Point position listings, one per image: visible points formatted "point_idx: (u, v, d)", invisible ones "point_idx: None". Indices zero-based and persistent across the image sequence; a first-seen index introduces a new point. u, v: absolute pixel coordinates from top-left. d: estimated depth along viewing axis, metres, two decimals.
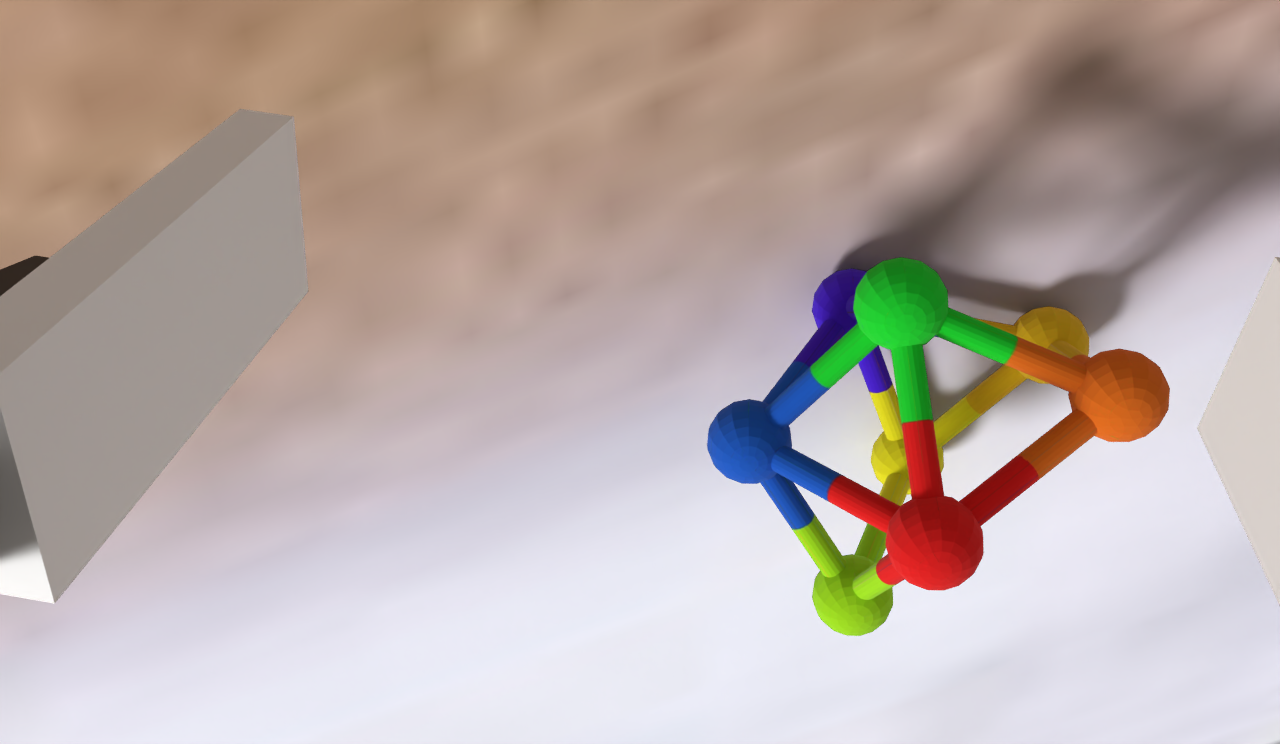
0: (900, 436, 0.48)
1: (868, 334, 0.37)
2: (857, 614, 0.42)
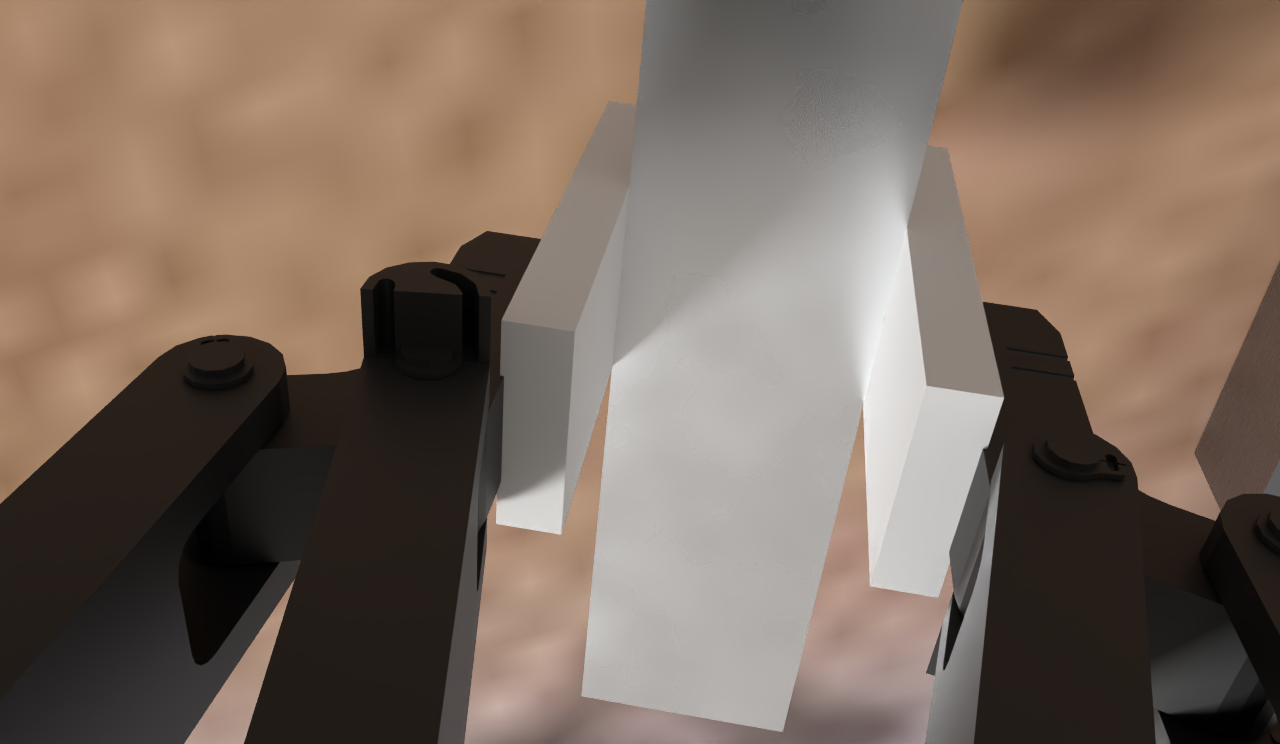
0: None
1: None
2: None
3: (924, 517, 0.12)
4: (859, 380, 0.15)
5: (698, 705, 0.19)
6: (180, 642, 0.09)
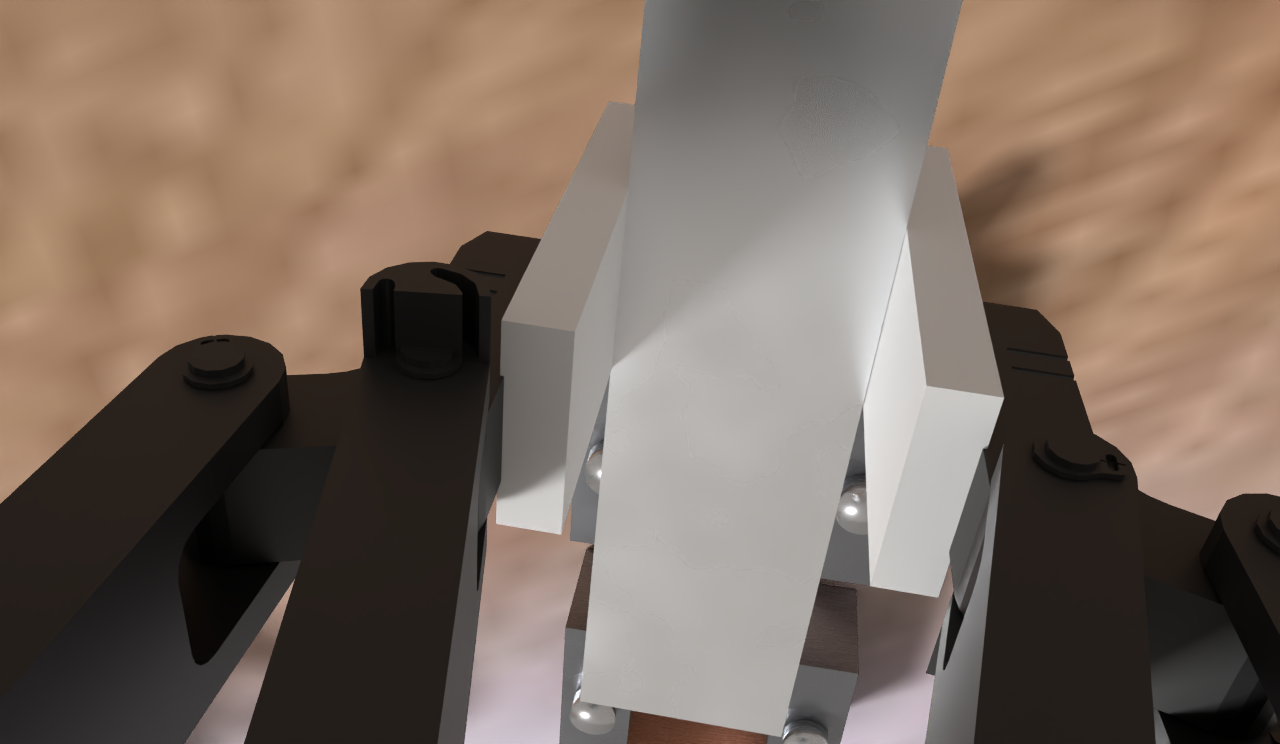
0: None
1: None
2: None
3: (924, 517, 0.12)
4: (857, 386, 0.15)
5: (696, 710, 0.19)
6: (180, 642, 0.09)
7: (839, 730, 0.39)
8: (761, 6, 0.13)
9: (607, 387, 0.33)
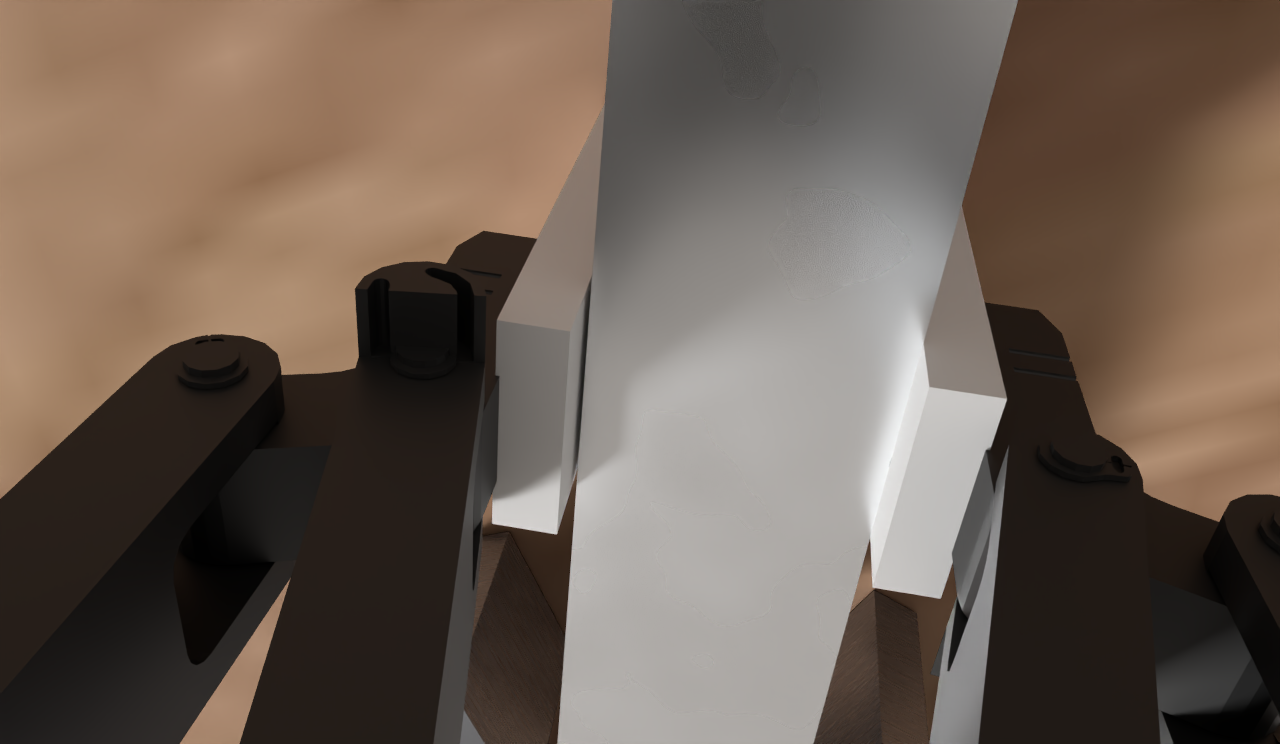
0: None
1: None
2: None
3: (926, 518, 0.12)
4: (861, 527, 0.13)
5: None
6: (176, 642, 0.09)
7: None
8: (745, 107, 0.10)
9: None
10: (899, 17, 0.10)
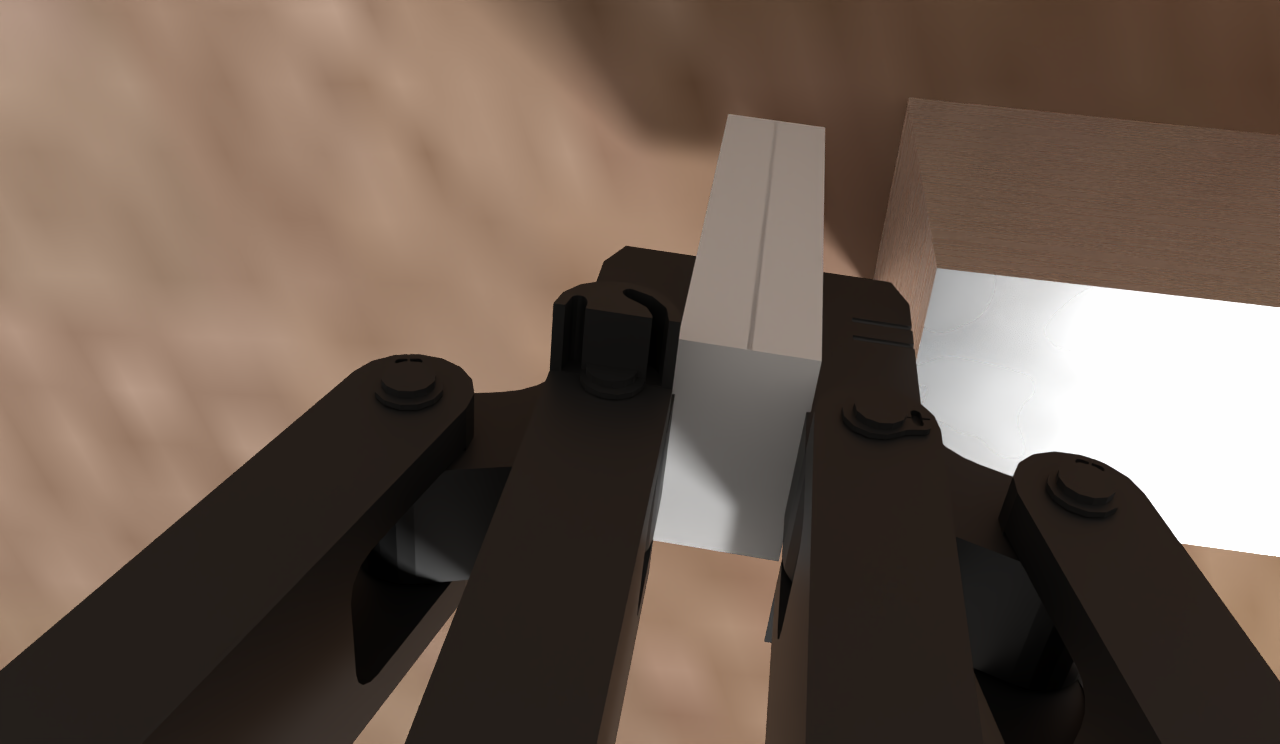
0: None
1: None
2: None
3: (757, 481, 0.12)
4: None
5: None
6: (346, 661, 0.09)
7: None
8: (1225, 463, 0.14)
9: None
10: (1173, 369, 0.13)
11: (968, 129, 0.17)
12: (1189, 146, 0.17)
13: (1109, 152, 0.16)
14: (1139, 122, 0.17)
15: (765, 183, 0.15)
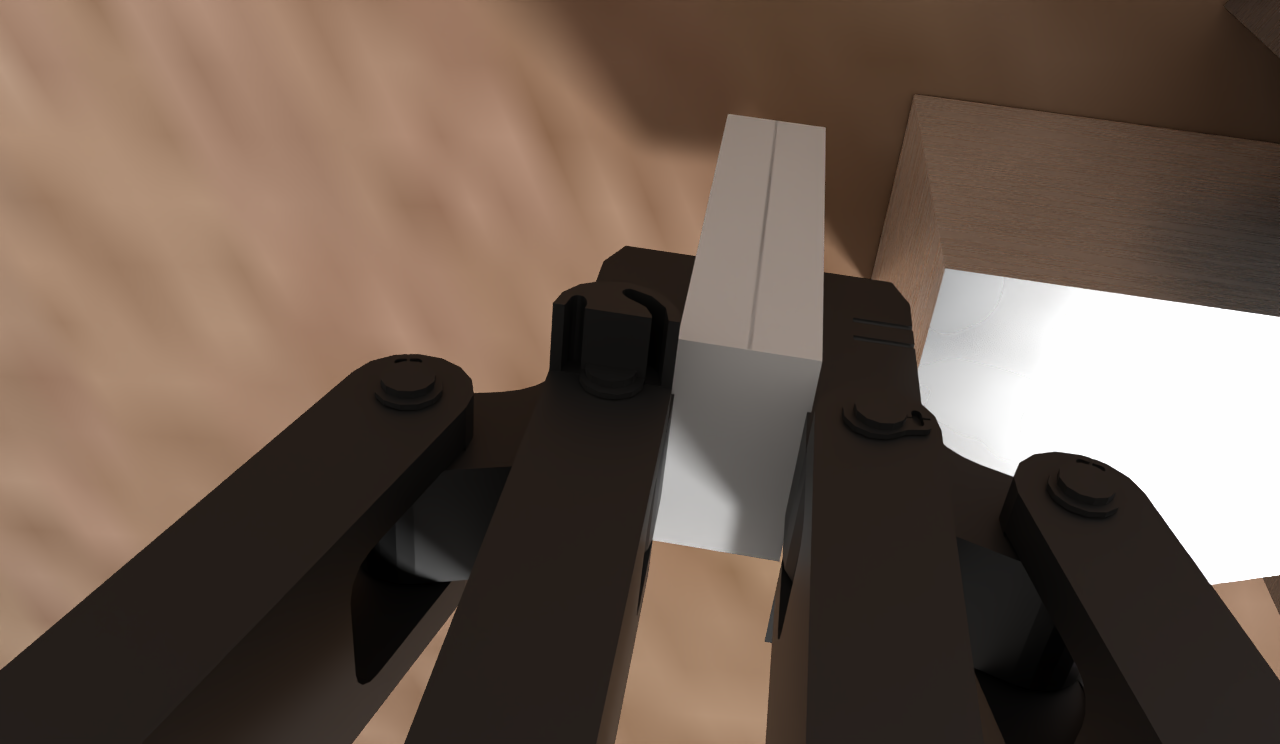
0: None
1: None
2: None
3: (758, 481, 0.12)
4: None
5: None
6: (346, 661, 0.09)
7: None
8: (1226, 472, 0.14)
9: None
10: (1177, 377, 0.13)
11: (975, 129, 0.17)
12: (1195, 153, 0.17)
13: (1115, 157, 0.16)
14: (1145, 127, 0.17)
15: (766, 183, 0.15)
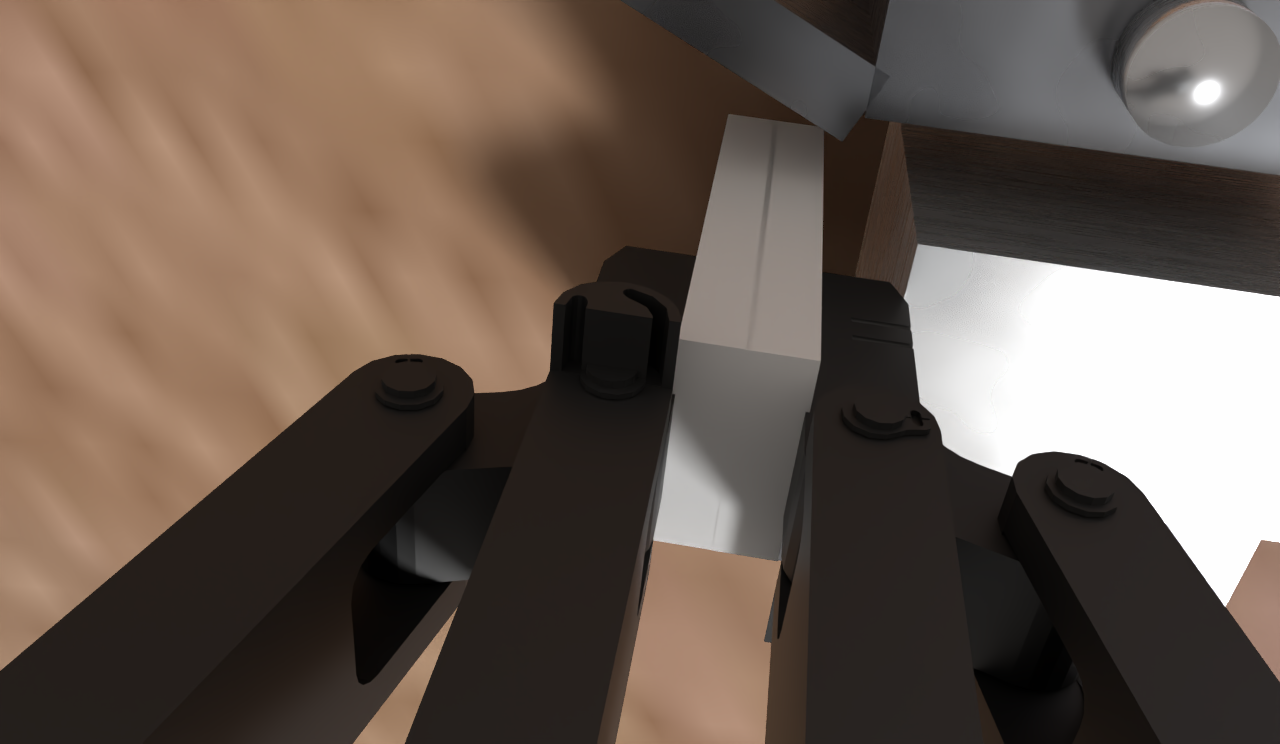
0: None
1: None
2: None
3: (756, 481, 0.12)
4: None
5: None
6: (347, 661, 0.09)
7: None
8: (1188, 442, 0.14)
9: None
10: (1141, 348, 0.14)
11: None
12: None
13: None
14: None
15: (764, 183, 0.15)
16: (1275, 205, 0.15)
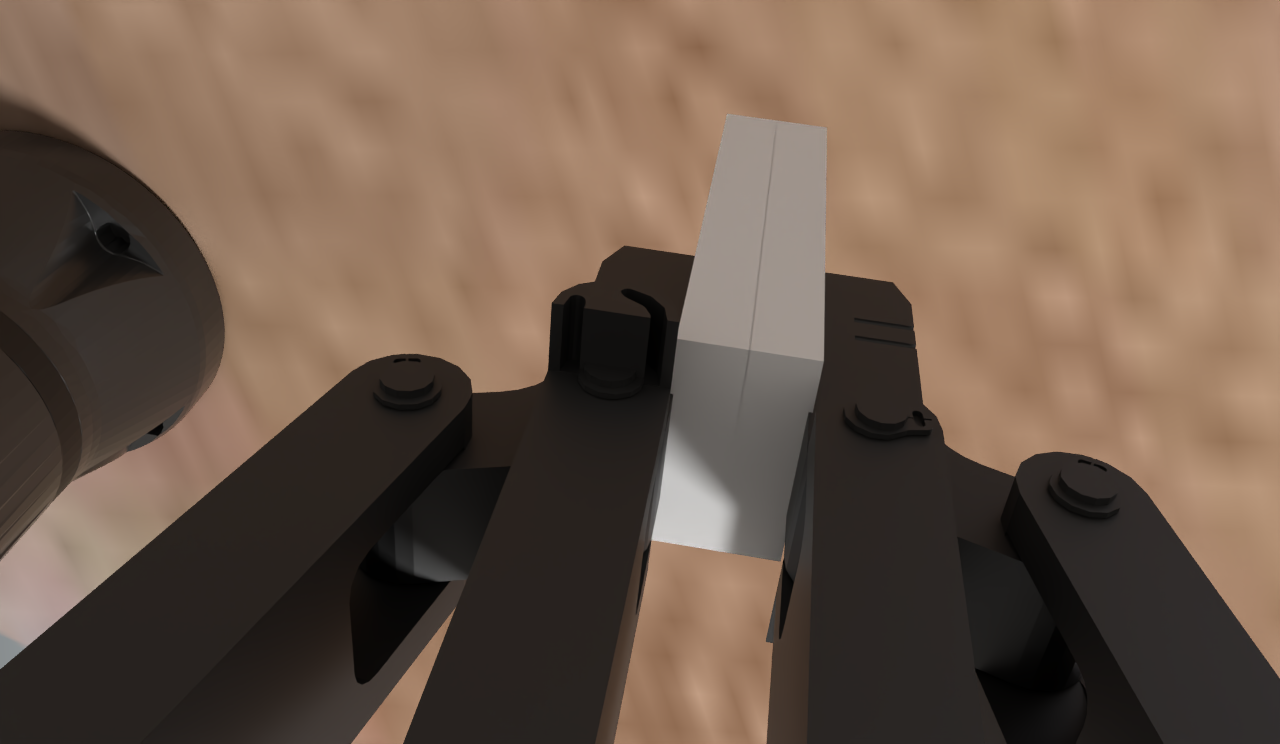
0: None
1: None
2: None
3: (759, 481, 0.12)
4: None
5: None
6: (345, 661, 0.09)
7: None
8: None
9: None
10: None
11: None
12: None
13: None
14: None
15: (767, 183, 0.15)
16: None
